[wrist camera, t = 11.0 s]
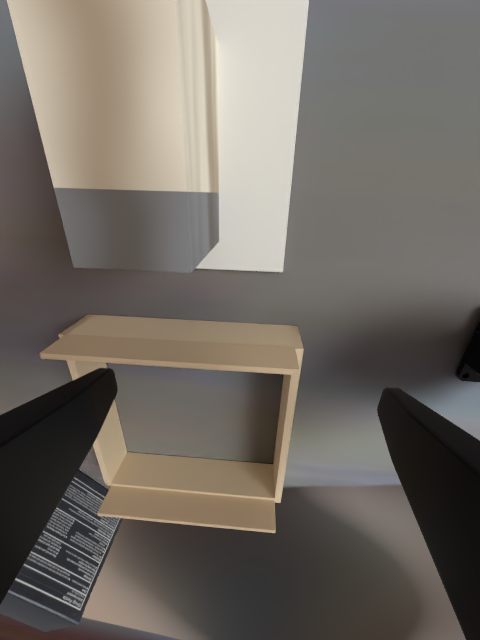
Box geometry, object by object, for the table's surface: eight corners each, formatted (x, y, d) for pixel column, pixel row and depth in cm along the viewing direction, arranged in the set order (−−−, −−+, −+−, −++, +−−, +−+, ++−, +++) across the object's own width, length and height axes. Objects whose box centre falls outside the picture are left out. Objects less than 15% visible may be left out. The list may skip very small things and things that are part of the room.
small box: (33, 476, 32) (-61, 593, 23) (62, 457, 30) (-28, 576, 21) (100, 519, 36) (42, 637, 26) (131, 504, 33) (80, 626, 24)
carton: (297, 324, 21) (310, 370, 15) (278, 469, 28) (282, 533, 23) (87, 313, 22) (30, 352, 16) (122, 455, 29) (91, 515, 24)
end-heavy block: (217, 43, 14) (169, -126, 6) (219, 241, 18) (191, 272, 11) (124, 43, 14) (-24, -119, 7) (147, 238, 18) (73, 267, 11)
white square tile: (308, -9, 13) (310, -17, 13) (282, 270, 19) (282, 272, 19) (37, -5, 14) (30, -12, 13) (94, 262, 20) (91, 263, 19)
